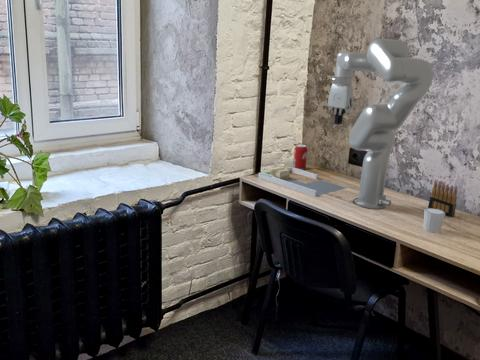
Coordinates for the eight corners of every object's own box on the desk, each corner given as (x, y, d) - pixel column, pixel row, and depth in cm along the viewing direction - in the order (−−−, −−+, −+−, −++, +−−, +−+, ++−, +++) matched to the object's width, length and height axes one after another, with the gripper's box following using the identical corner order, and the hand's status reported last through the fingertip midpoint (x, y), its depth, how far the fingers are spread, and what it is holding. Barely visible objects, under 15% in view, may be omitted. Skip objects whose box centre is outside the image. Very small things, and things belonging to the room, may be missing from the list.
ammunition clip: (427, 208, 196) (432, 179, 193) (430, 208, 197) (435, 179, 194) (451, 217, 188) (457, 187, 184) (454, 216, 189) (460, 186, 185)
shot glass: (444, 230, 173) (448, 211, 171) (437, 235, 168) (441, 215, 166) (425, 224, 177) (429, 206, 175) (418, 229, 172) (421, 210, 170)
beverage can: (306, 171, 242) (308, 147, 238) (293, 170, 242) (295, 146, 238) (304, 168, 248) (307, 144, 244) (292, 167, 248) (294, 143, 244)
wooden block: (288, 178, 220) (289, 170, 219) (279, 180, 216) (280, 171, 215) (279, 175, 225) (280, 167, 223) (269, 177, 221) (270, 168, 220)
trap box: (346, 191, 212) (347, 182, 211) (314, 199, 198) (315, 190, 197) (290, 173, 235) (291, 166, 233) (257, 180, 220) (258, 172, 219)
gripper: (323, 79, 214) (319, 121, 219) (352, 83, 204) (347, 127, 209) (334, 79, 219) (329, 120, 224) (362, 83, 209) (357, 126, 214)
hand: (337, 123), depth 217 cm, fingers closed
